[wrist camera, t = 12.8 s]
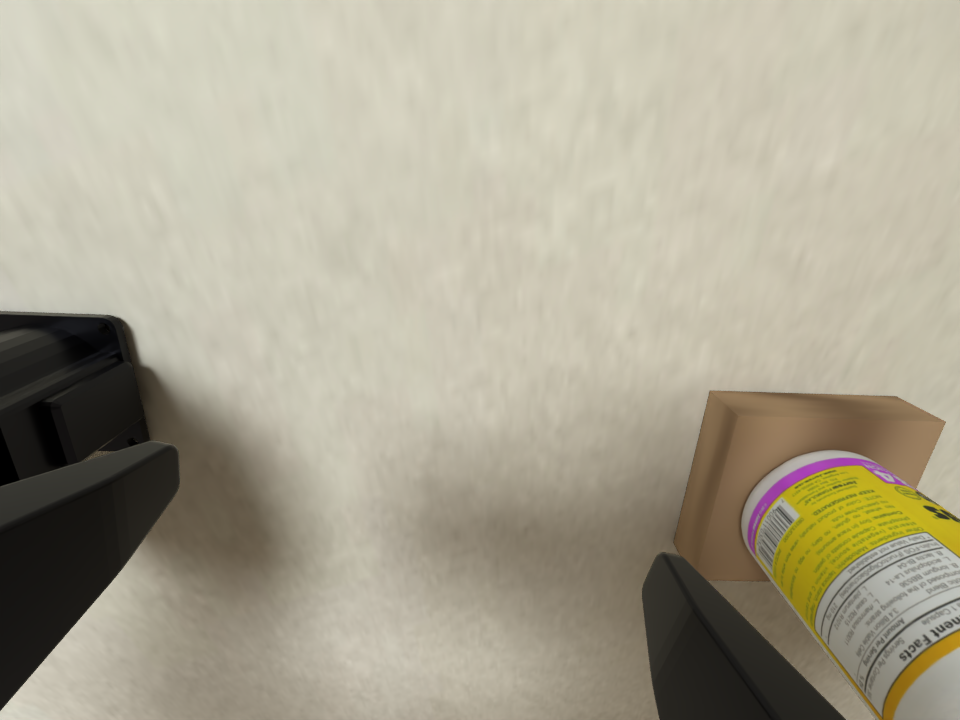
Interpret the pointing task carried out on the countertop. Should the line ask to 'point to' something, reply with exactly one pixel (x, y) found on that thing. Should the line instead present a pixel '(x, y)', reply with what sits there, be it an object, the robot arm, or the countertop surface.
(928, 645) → the supplement bottle
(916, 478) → the walnut block
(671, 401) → the countertop surface
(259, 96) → the countertop surface
